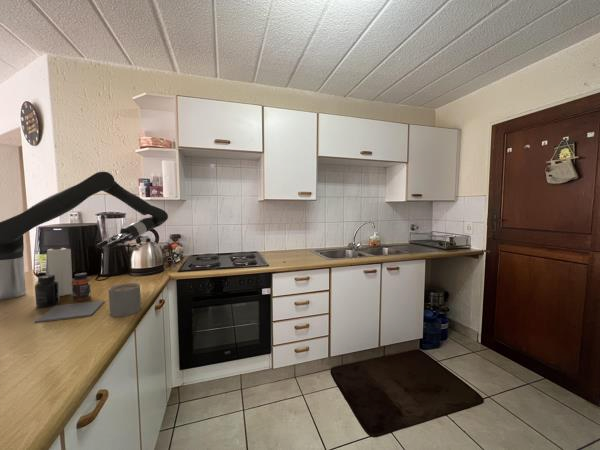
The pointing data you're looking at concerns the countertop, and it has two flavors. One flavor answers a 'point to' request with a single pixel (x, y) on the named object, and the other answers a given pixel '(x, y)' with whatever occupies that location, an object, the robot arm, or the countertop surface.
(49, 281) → the supplement bottle
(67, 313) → the mat
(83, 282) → the supplement bottle
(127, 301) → the coffee mug
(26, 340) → the countertop surface
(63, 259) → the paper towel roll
